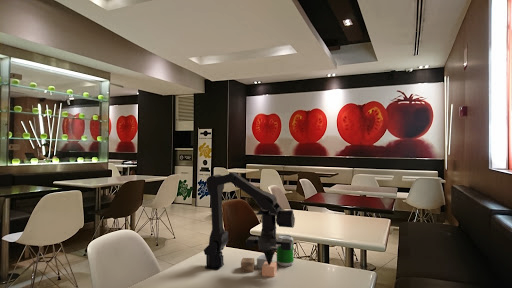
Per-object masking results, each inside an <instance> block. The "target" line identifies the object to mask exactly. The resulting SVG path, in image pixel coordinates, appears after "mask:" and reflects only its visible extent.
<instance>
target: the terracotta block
mask: <svg viewBox="0 0 512 288" xmlns="http://www.w3.org/2000/svg"><path fill="white" fill-rule="evenodd" d="M277 273H278V263H277V261H276V262H274V261H272V262H271V264H268V262H266V261H265V262H264V264H263V265H262V268H261V276H263V277H271V278H275V276H276V275H277Z"/></svg>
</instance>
